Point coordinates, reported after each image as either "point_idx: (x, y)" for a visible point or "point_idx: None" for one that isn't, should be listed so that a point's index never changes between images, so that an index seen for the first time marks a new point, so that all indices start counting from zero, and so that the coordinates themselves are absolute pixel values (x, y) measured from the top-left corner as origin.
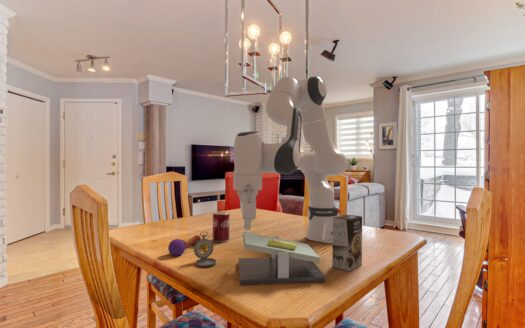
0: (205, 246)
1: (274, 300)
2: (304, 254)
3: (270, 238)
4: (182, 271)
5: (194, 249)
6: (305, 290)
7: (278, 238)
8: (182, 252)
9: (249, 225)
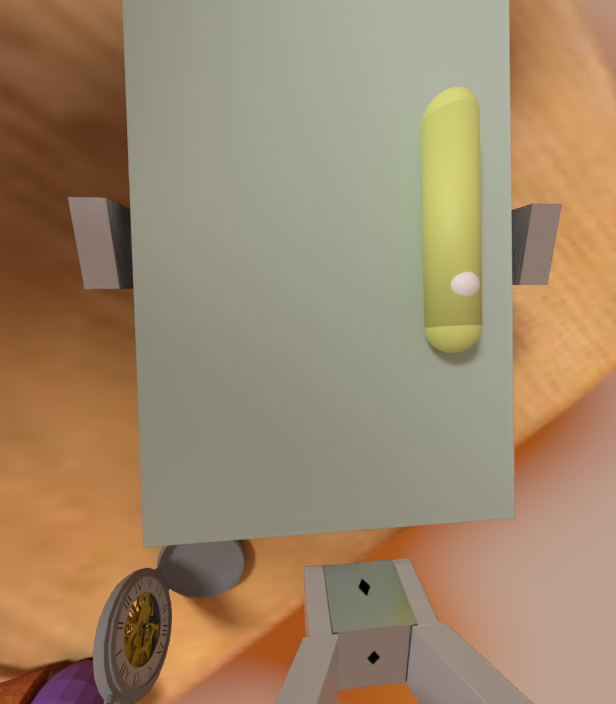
0: (133, 634)
1: (555, 316)
2: (507, 69)
3: (197, 296)
4: (278, 609)
5: (163, 661)
6: (515, 182)
7: (110, 205)
8: (92, 668)
9: (431, 615)
